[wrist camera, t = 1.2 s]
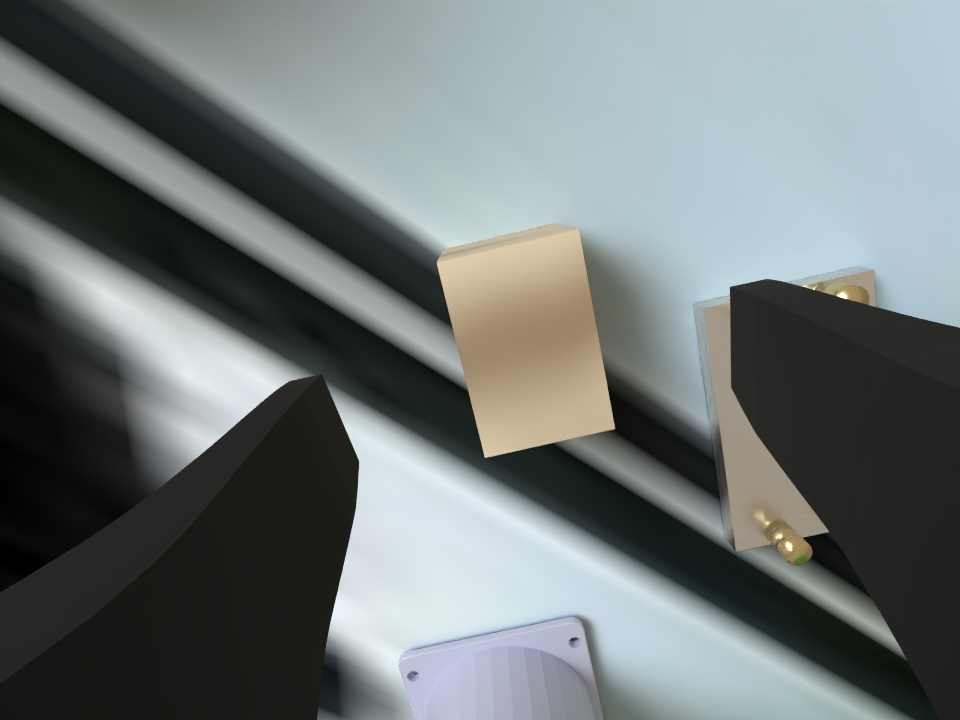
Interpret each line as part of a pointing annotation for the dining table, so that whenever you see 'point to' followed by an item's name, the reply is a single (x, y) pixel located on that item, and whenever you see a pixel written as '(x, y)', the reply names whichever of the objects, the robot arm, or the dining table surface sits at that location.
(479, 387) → the birch block
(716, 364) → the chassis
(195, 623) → the robot arm
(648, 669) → the dining table surface
